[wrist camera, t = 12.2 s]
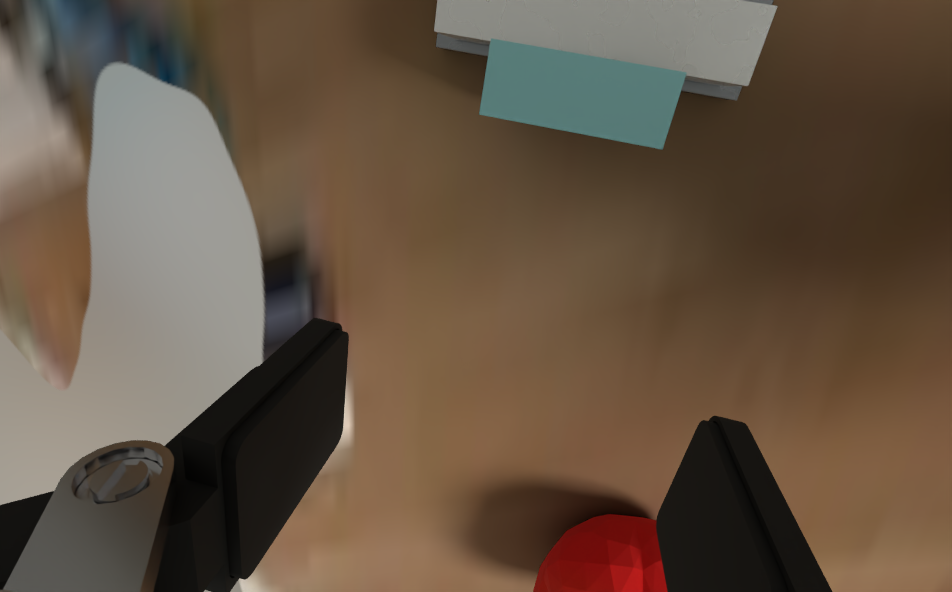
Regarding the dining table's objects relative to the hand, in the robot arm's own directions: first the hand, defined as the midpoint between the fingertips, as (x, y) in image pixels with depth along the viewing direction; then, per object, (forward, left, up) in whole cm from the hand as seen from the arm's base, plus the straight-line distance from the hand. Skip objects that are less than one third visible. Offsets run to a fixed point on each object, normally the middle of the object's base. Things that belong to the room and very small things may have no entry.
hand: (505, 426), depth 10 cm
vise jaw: (0, -8, -20) cm, 22 cm away
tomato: (-11, +26, -22) cm, 36 cm away
